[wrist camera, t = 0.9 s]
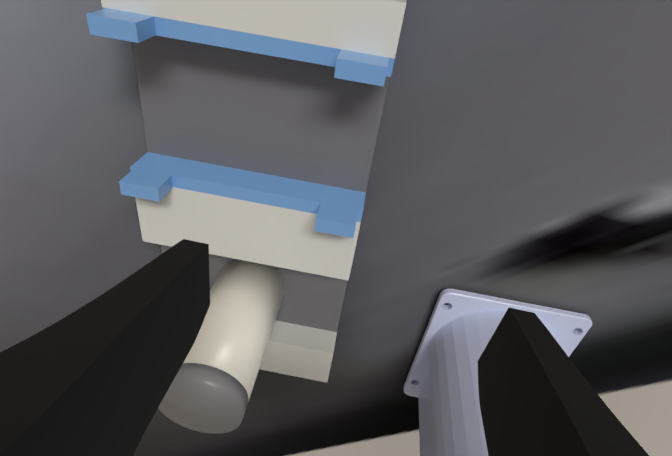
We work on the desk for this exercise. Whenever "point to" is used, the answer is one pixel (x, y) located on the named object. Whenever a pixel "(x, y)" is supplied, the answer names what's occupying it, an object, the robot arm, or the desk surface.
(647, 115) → the desk surface
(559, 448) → the robot arm
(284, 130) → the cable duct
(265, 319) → the cream round-ended cylinder
